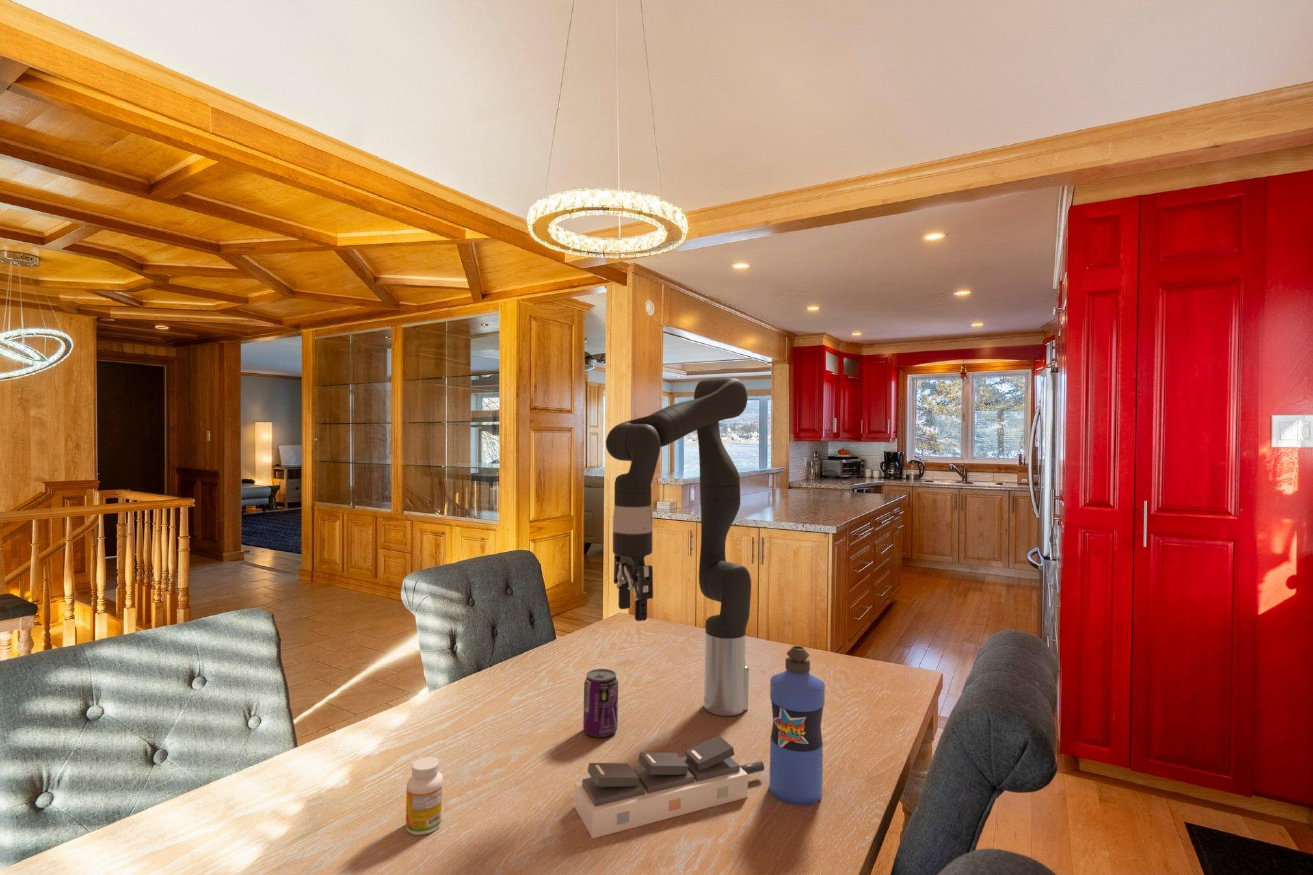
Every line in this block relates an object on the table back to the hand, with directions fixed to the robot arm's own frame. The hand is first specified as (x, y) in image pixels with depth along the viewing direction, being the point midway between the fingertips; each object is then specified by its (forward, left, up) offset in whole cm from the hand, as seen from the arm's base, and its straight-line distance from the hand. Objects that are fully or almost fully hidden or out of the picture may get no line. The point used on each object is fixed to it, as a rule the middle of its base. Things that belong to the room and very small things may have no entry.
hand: (632, 614), depth 119 cm
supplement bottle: (+37, +6, -28) cm, 47 cm away
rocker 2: (0, +15, -21) cm, 26 cm away
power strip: (-3, +15, -28) cm, 32 cm away
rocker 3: (-9, +15, -21) cm, 27 cm away
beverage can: (+1, -13, -28) cm, 31 cm away
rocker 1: (+9, +15, -21) cm, 27 cm away
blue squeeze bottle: (-23, +21, -28) cm, 42 cm away
